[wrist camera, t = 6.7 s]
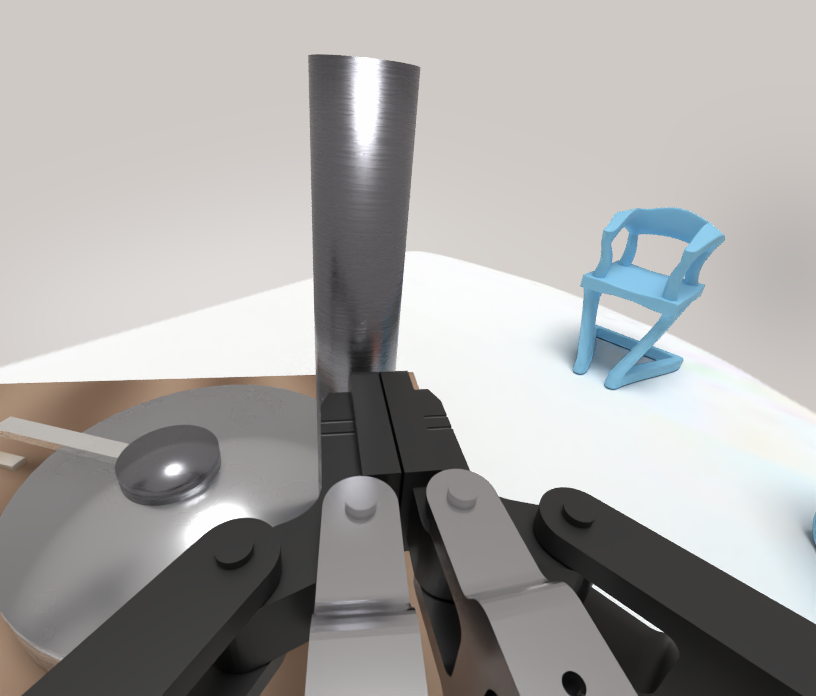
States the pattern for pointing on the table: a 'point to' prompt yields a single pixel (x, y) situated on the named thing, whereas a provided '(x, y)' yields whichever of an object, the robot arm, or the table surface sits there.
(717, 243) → the chair
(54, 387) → the base plate
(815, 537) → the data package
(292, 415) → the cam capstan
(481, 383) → the table surface
